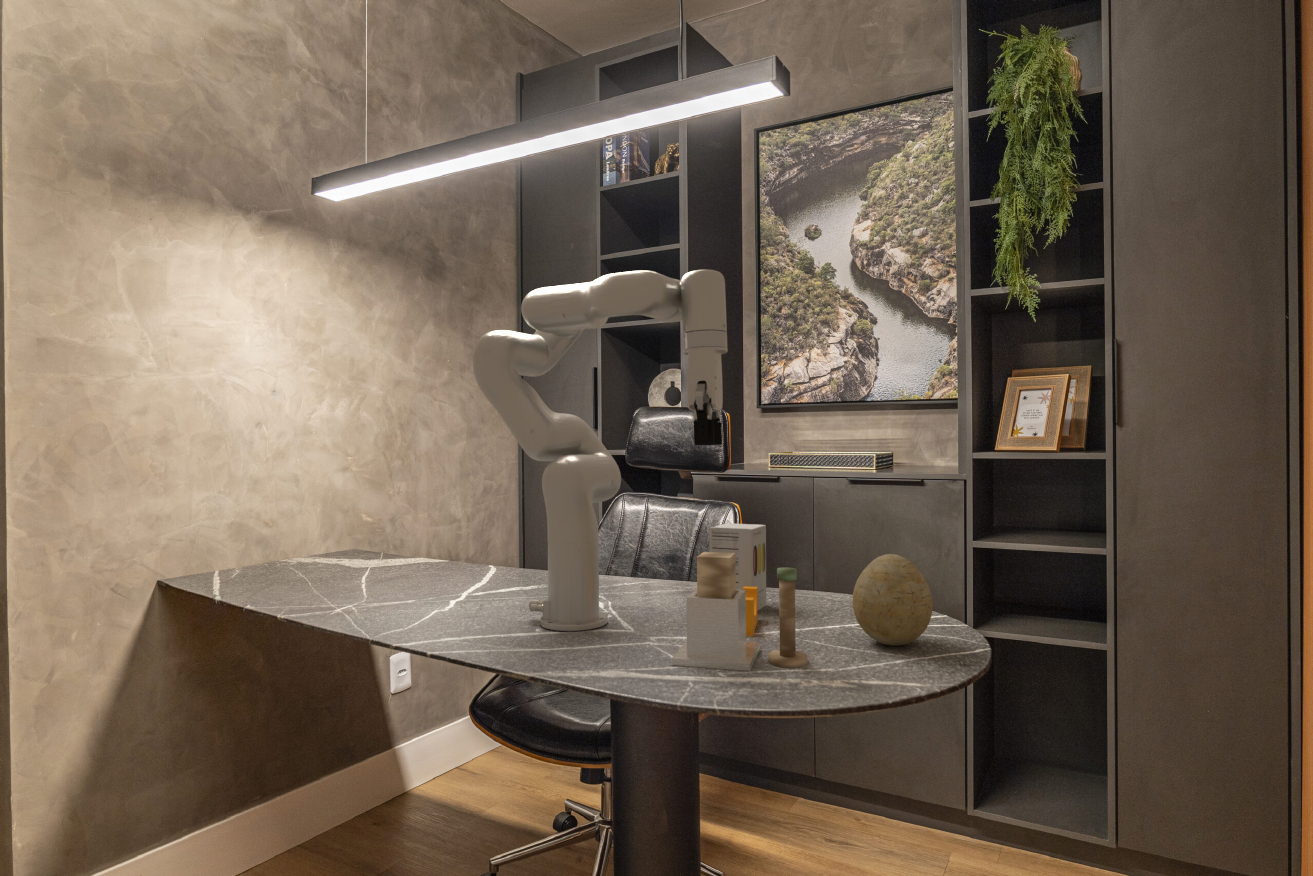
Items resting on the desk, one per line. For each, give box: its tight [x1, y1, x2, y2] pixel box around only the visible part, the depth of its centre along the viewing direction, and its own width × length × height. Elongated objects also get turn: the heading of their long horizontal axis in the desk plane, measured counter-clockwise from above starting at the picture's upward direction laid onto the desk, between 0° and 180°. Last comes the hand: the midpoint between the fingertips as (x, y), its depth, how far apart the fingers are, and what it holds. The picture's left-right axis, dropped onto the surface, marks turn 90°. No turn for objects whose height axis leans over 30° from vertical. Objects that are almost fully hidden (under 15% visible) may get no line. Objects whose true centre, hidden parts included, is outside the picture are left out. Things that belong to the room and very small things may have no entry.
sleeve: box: [670, 587, 761, 672], centre depth 118 cm, size 12×12×10 cm
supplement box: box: [709, 522, 767, 611], centre depth 153 cm, size 10×9×17 cm
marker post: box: [767, 567, 809, 669], centre depth 115 cm, size 6×6×14 cm
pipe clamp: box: [743, 586, 759, 637], centre depth 137 cm, size 12×4×6 cm, turn 168°
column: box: [696, 551, 736, 598], centre depth 118 cm, size 6×6×15 cm
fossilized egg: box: [852, 553, 934, 647], centre depth 125 cm, size 13×13×15 cm
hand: (708, 444), depth 127 cm, fingers open, 9 cm apart
